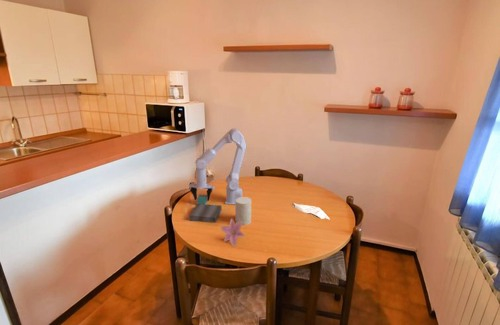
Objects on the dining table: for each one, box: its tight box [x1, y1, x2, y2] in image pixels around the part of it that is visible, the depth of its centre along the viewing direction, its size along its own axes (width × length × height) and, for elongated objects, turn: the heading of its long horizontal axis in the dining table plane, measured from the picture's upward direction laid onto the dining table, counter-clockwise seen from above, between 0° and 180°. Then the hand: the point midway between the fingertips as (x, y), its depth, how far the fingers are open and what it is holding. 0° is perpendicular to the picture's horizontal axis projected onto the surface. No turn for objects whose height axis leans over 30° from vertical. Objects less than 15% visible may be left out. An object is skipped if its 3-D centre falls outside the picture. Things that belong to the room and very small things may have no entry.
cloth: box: [291, 202, 330, 220], centre depth 158 cm, size 26×14×2 cm, turn 32°
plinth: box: [188, 203, 223, 224], centre depth 150 cm, size 14×14×3 cm
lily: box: [220, 218, 245, 248], centre depth 128 cm, size 12×12×10 cm
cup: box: [235, 196, 252, 226], centre depth 144 cm, size 8×8×12 cm
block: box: [196, 194, 208, 205], centre depth 163 cm, size 4×4×5 cm
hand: (202, 199), depth 163 cm, fingers open, 7 cm apart
